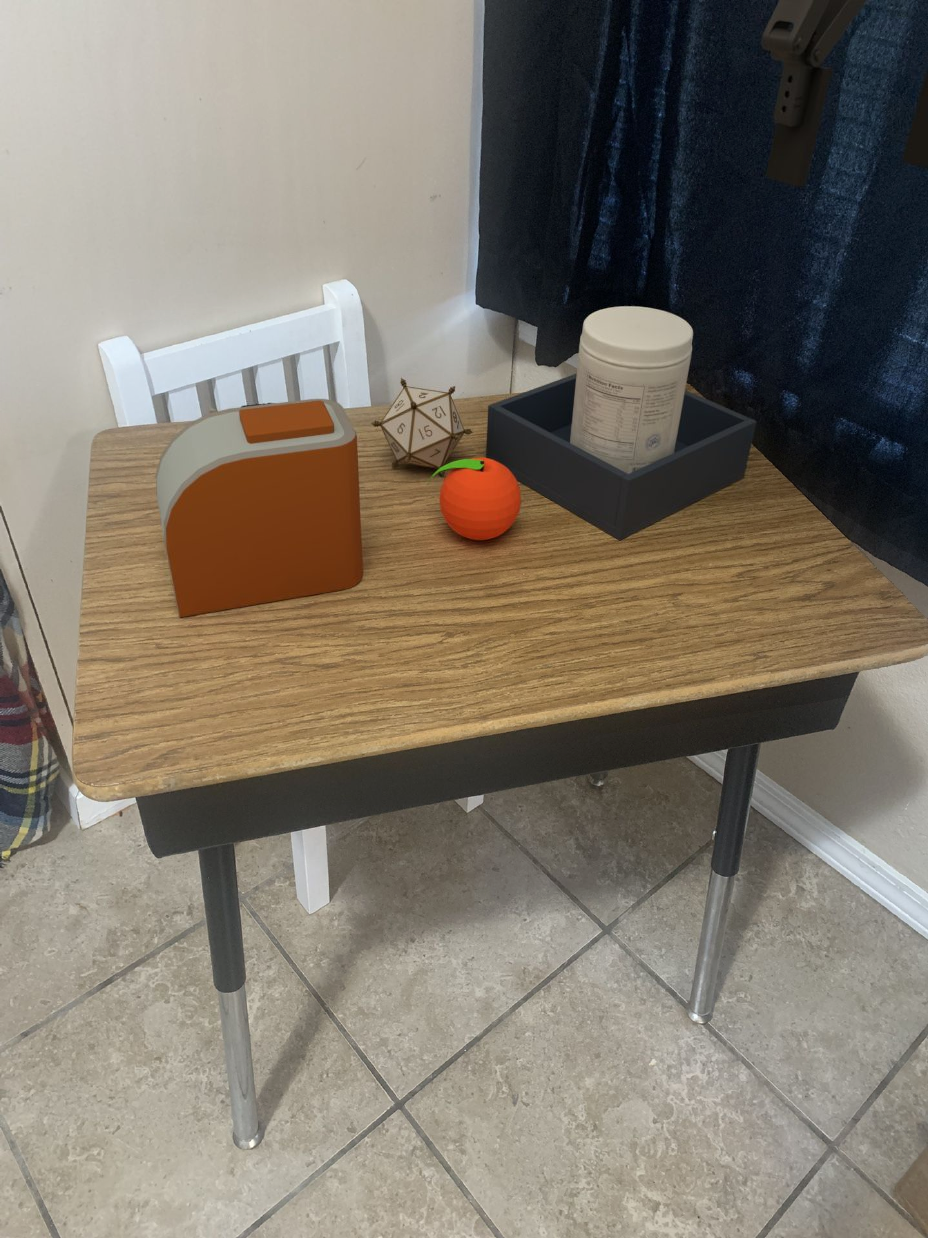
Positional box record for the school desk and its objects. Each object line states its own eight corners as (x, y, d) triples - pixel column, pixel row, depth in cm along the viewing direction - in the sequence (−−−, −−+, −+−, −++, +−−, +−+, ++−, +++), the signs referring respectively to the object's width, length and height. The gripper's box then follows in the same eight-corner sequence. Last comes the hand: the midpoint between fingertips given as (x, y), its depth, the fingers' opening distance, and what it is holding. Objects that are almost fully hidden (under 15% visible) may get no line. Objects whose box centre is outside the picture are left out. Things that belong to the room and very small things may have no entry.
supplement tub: (588, 444, 96) (605, 296, 87) (681, 467, 93) (709, 316, 84) (550, 488, 89) (564, 332, 80) (649, 515, 86) (676, 356, 77)
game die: (404, 494, 97) (362, 399, 95) (483, 459, 97) (442, 363, 95) (401, 496, 88) (355, 392, 87) (488, 458, 88) (443, 353, 86)
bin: (744, 477, 94) (757, 420, 90) (620, 540, 85) (629, 480, 81) (609, 412, 104) (615, 358, 100) (485, 461, 95) (487, 405, 91)
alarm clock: (344, 530, 85) (336, 384, 76) (368, 586, 78) (362, 433, 70) (168, 557, 81) (139, 406, 72) (179, 618, 74) (148, 460, 66)
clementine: (421, 551, 83) (421, 477, 78) (432, 508, 88) (433, 437, 84) (515, 559, 82) (521, 485, 78) (521, 515, 87) (526, 444, 83)
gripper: (1035, -223, 61) (926, 149, 73) (749, -273, 50) (678, 176, 62) (1156, -231, 56) (1017, 170, 68) (869, -288, 45) (765, 203, 57)
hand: (855, 173), depth 65 cm, fingers open, 13 cm apart
